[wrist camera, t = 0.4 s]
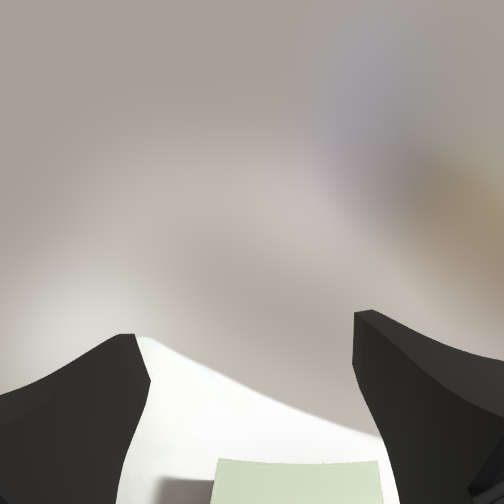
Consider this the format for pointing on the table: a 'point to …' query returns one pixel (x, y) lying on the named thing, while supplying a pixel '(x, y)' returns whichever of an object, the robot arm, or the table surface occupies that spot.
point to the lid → (296, 483)
